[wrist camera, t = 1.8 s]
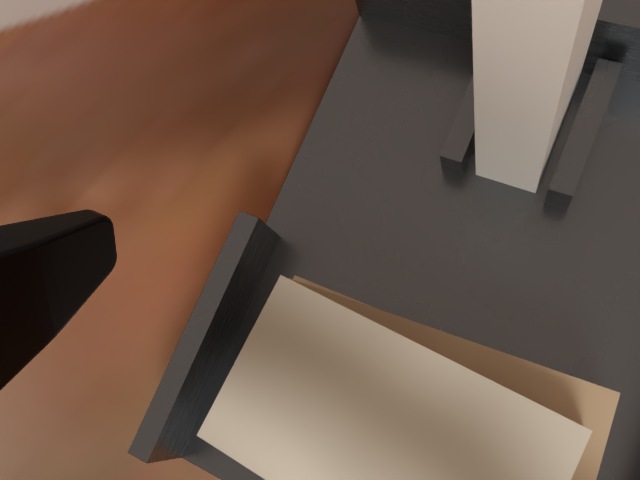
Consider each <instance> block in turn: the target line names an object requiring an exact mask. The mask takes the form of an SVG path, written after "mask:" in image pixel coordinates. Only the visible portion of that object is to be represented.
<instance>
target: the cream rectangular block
mask: <svg viewBox="0 0 640 480" xmlns="http://www.w3.org/2000/svg"><path fill="white" fill-rule="evenodd" d="M602 1H603V0H472V40H473V81H474V123H475V165H476V175H478V176H481V177H485V178H488V179H491V180H494V181H498V182H501V183H504V184H507V185H510V186H514V187H517V188H520V189H523V190H527V191H530V192H533V193H536V190H537V188H538V185H539V183H540V180H541V177H542V175H543V172H544V170H545V167H546V164H547V162H548V159H549V157H550V154H551V152H552V149H553V146H554V144H555V141H556V139H557V136H558V133H559V131H560V128H561V126H562V123H563V120H564V118H565V115H566V113H567V110H568V107H569V105H570V102H571V100H572V97H573V94H574V92H575V89H576V87H577V84H578V81H579V78H580V74H581V71H582V68H583V64H584V61H585V58H586V54H587V51H588V48H589V44H590V41H591V38H592V34H593V31H594V28H595V24H596V21H597V18H598V14H599V11H600V8H601V4H602Z"/></svg>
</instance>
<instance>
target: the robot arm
mask: <svg viewBox="0 0 640 480" xmlns="http://www.w3.org/2000/svg"><path fill="white" fill-rule="evenodd" d="M116 259H117V253H116V245H115V236H114V228H113V223H112V221H111V220H110V218H108V217H107V216H105V215H102V214H100V213H98V212H95V211H93V210H81V211H76V212H71V213H65V214H60V215H55V216H49V217H44V218H39V219H34V220H28V221H23V222H18V223H12V224H7V225H2V226H0V390H1V389H2V388H3V387H4V386H5V385H6V384H7V383H8V382H9V381H11V380H12V379H13V378H14V377H15V376H16V375H17V374H18V373H19V372H20V371H21V370H22V369H23V368H24V367H25V366H26V365H27V364H28V363H29V362H30V361H31V360H32V359H33V358H34V357H35V356H36V355H37V354H38V353H39V352H40V351H41V350H43V349H44V348H45V347H46V346H47V345H48V344H49V343H50V342H51V341H52V340H53V338H54V337H55V336H56V335H57V334H58V333H59V332H60V331H61V330H62V329H63V328H64V326H65V325H66V324H67V323H68V322H69V321H70V319H71V318H72V317H73V316H74V315H75V314H76V312H77V311H78V310H79V309H80V308H81V306H82V305H83V304H84V303H85V302H86V301H87V299H88V298H89V297H90V296H91V295H92V294H93V292H94V291H95V290H96V289H97V288H98V286H99V285H100V284H101V283H102V282H103V281H104V279H105V278H106V277H107V276H108V275H109V274H110V272H111V271H112V270H113V268H114V266H115V263H116Z"/></svg>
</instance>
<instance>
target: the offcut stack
mask: <svg viewBox="0 0 640 480" xmlns="http://www.w3.org/2000/svg"><path fill="white" fill-rule="evenodd" d="M619 397H620V393H619V392H616V391H613V390H611V389H608V388H605V387H602V386H599V385H596V384H593V383H590V382H587V381H585V380H582V379H579V378H576V377H573V376H570V375H567V374H564V373H561V372H559V371H556V370H553V369H550V368H547V367H544V366H541V365H538V364H535V363H533V362H530V361H527V360H524V359H521V358H518V357H515V356H512V355H509V354H507V353H504V352H501V351H498V350H495V349H492V348H489V347H486V346H483V345H481V344H478V343H475V342H472V341H469V340H466V339H463V338H460V337H457V336H454V335H452V334H449V333H446V332H443V331H440V330H437V329H434V328H431V327H428V326H426V325H423V324H420V323H417V322H414V321H411V320H408V319H405V318H402V317H400V316H397V315H394V314H391V313H388V312H385V311H382V310H379V309H377V308H374V307H372V306H369V305H367V304H364V303H362V302H360V301H357V300H355V299H352V298H350V297H347V296H345V295H342V294H340V293H337V292H335V291H332V290H330V289H328V288H325V287H323V286H320V285H318V284H315V283H313V282H310V281H308V280H305V279H303V278H300V277H298V276H296V275H294V278H293V279H290V278H286V277H284V276H282V275H280V277H279V279H278V281H277V283H276V285H275V286H274V288H273V290H272V292H271V294H270V296H269V298H268V300H267V302H266V304H265V306H264V307H263V309H262V311H261V313H260V315H259V317H258V319H257V321H256V323H255V325H254V327H253V329H252V330H251V332H250V334H249V336H248V338H247V340H246V342H245V344H244V346H243V348H242V350H241V351H240V353H239V355H238V357H237V359H236V361H235V363H234V365H233V367H232V369H231V371H230V373H229V374H228V376H227V378H226V380H225V382H224V384H223V386H222V388H221V390H220V392H219V394H218V395H217V397H216V399H215V401H214V403H213V405H212V407H211V409H210V411H209V413H208V415H207V416H206V418H205V420H204V422H203V424H202V426H201V428H200V430H199V432H198V434H197V436H198V437H200V438H201V439H203V440H204V441H206V442H208V443H209V444H211V445H212V446H214V447H215V448H217V449H218V450H220V451H222V452H223V453H225V454H226V455H228V456H229V457H231V458H232V459H234V460H236V461H237V462H239V463H240V464H242V465H243V466H245V467H246V468H248V469H250V470H251V471H253V472H254V473H256V474H257V475H259V476H260V477H262V478H264V479H265V480H596V479H597V475H598V471H599V468H600V464H601V461H602V457H603V454H604V450H605V446H606V443H607V439H608V436H609V432H610V429H611V425H612V422H613V418H614V414H615V411H616V407H617V404H618V400H619Z"/></svg>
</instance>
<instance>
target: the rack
mask: <svg viewBox="0 0 640 480" xmlns="http://www.w3.org/2000/svg"><path fill="white" fill-rule="evenodd" d="M355 1H356V4H357V7H358V10H359V14H360V16H359V19H358V21H357V23H356V25H355V27H354V30H353V32H352V34H351V36H350V39H349V41H348V43H347V45H346V47H345V50H344V52H343V54H342V56H341V58H340V61H339V63H338V65H337V67H336V69H335V72H334V74H333V76H332V78H331V80H330V83H329V85H328V87H327V89H326V92H325V94H324V96H323V98H322V100H321V103H320V105H319V107H318V109H317V111H316V114H315V116H314V118H313V120H312V122H311V125H310V127H309V129H308V131H307V134H306V136H305V138H304V140H303V142H302V145H301V147H300V149H299V151H298V153H297V156H296V158H295V160H294V162H293V164H292V167H291V169H290V171H289V173H288V175H287V178H286V180H285V182H284V184H283V187H282V189H281V191H280V193H279V195H278V198H277V200H276V202H275V204H274V206H273V209H272V211H271V213H270V215H269V217H268V220H267V222H266V224H265V223H264V222H263V221H262V220H260V219H259V218H257V217H255V216H252V215H249V214H247V213H244V212H242V211H239V213H238V215H237V217H236V219H235V221H234V223H233V226H232V228H231V230H230V232H229V234H228V236H227V239H226V241H225V243H224V245H223V247H222V249H221V252H220V254H219V256H218V258H217V260H216V262H215V265H214V267H213V269H212V271H211V273H210V275H209V278H208V280H207V282H206V284H205V286H204V288H203V291H202V293H201V295H200V297H199V299H198V301H197V304H196V306H195V308H194V310H193V312H192V314H191V317H190V319H189V321H188V323H187V325H186V327H185V330H184V332H183V334H182V336H181V338H180V341H179V343H178V345H177V347H176V349H175V351H174V354H173V356H172V358H171V360H170V362H169V364H168V367H167V369H166V371H165V373H164V375H163V377H162V380H161V382H160V384H159V386H158V388H157V390H156V393H155V395H154V397H153V399H152V401H151V403H150V406H149V408H148V410H147V412H146V414H145V416H144V419H143V421H142V423H141V425H140V427H139V429H138V432H137V434H136V436H135V438H134V440H133V442H132V445H131V447H130V449H129V451H128V453H130V454H131V455H133V456H135V457H136V458H138V459H140V460H142V461H143V462H145V463H152V462H158V461H164V460H169V459H175V458H181V457H182V458H184V459H185V460H187V461H189V462H191V463H193V464H194V465H196V466H198V467H200V468H202V469H203V470H205V471H207V472H209V473H211V474H212V475H214V476H216V477H218V478H220V479H221V480H265V479H264V478H262V477H260V476H259V475H257V474H256V473H254V472H253V471H251V470H250V469H248V468H246V467H245V466H243V465H242V464H240V463H239V462H237V461H236V460H234V459H232V458H231V457H229V456H228V455H226V454H225V453H223V452H222V451H220V450H218V449H217V448H215V447H214V446H212V445H211V444H209V443H208V442H206V441H204V440H203V439H201V438H200V437H198V436H197V434H198V432H199V430H200V428H201V426H202V424H203V422H204V420H205V418H206V416H207V415H208V413H209V411H210V409H211V407H212V405H213V403H214V401H215V399H216V397H217V395H218V394H219V392H220V390H221V388H222V386H223V384H224V382H225V380H226V378H227V376H228V374H229V373H230V371H231V369H232V367H233V365H234V363H235V361H236V359H237V357H238V355H239V353H240V351H241V350H242V348H243V346H244V344H245V342H246V340H247V338H248V336H249V334H250V332H251V330H252V329H253V327H254V325H255V323H256V321H257V319H258V317H259V315H260V313H261V311H262V309H263V307H264V306H265V304H266V302H267V300H268V298H269V296H270V294H271V292H272V290H273V288H274V286H275V285H276V283H277V281H278V279H279V277H280V275H282V276H284V277H286V278H290V279H293V278H294V275H296V276H298V277H300V278H303V279H305V280H308V281H310V282H313V283H315V284H318V285H320V286H323V287H325V288H328V289H330V290H332V291H335V292H337V293H340V294H342V295H345V296H347V297H350V298H352V299H355V300H357V301H360V302H362V303H364V304H367V305H369V306H372V307H374V308H377V309H379V310H382V311H385V312H388V313H391V314H394V315H397V316H400V317H402V318H405V319H408V320H411V321H414V322H417V323H420V324H423V325H426V326H428V327H431V328H434V329H437V330H440V331H443V332H446V333H449V334H452V335H454V336H457V337H460V338H463V339H466V340H469V341H472V342H475V343H478V344H481V345H483V346H486V347H489V348H492V349H495V350H498V351H501V352H504V353H507V354H509V355H512V356H515V357H518V358H521V359H524V360H527V361H530V362H533V363H535V364H538V365H541V366H544V367H547V368H550V369H553V370H556V371H559V372H561V373H564V374H567V375H570V376H573V377H576V378H579V379H582V380H585V381H587V382H590V383H593V384H596V385H599V386H602V387H605V388H608V389H611V390H613V391H616V392H619V393H620V397H619V400H618V404H617V407H616V411H615V414H614V418H613V422H612V425H611V429H610V432H609V436H608V439H607V443H606V446H605V450H604V454H603V457H602V461H601V464H600V468H599V471H598V475H597V479H596V480H640V0H603V1H602V4H601V8H600V11H599V14H598V18H597V21H596V24H595V28H594V31H593V34H592V38H591V41H590V44H589V48H588V51H587V54H586V58H585V61H584V64H583V68H582V71H581V74H580V78H579V81H578V84H577V87H576V89H575V92H574V94H573V97H572V100H571V102H570V105H569V107H568V110H567V113H566V115H565V118H564V120H563V123H562V126H561V128H560V131H559V133H558V136H557V139H556V141H555V144H554V146H553V149H552V152H551V154H550V157H549V159H548V162H547V164H546V167H545V170H544V172H543V175H542V177H541V180H540V183H539V185H538V188H537V190H536V193H533V192H530V191H527V190H523V189H520V188H517V187H514V186H510V185H507V184H504V183H501V182H498V181H494V180H491V179H488V178H485V177H481V176H478V175H476V165H475V123H474V81H473V40H472V0H355Z"/></svg>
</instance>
